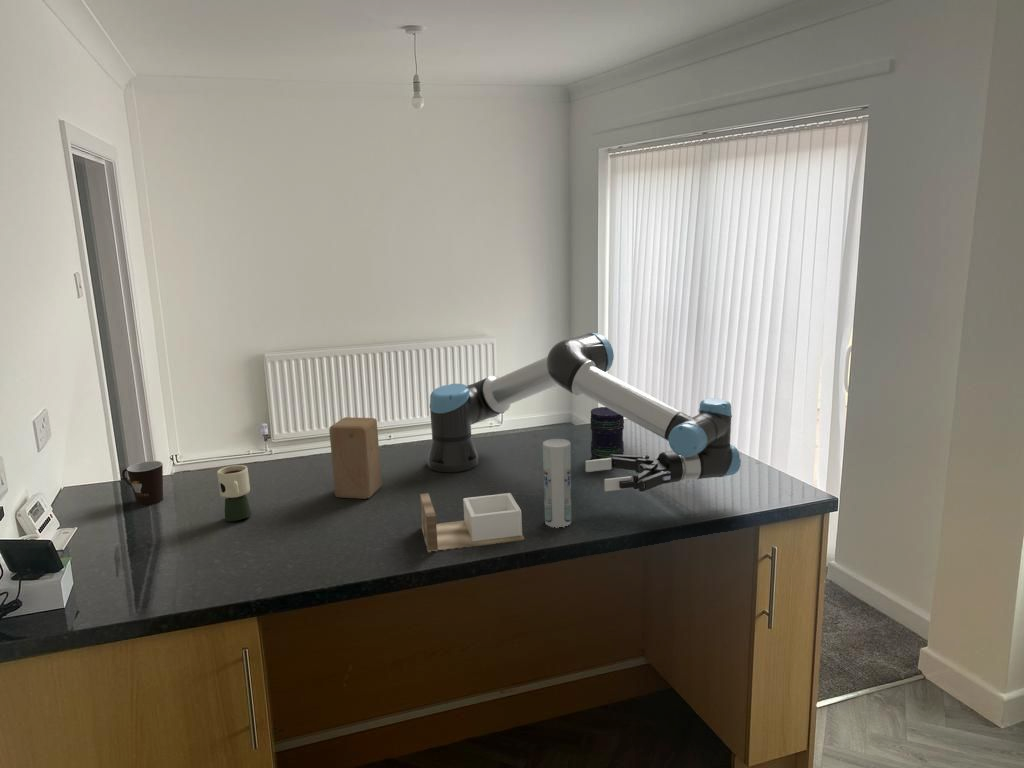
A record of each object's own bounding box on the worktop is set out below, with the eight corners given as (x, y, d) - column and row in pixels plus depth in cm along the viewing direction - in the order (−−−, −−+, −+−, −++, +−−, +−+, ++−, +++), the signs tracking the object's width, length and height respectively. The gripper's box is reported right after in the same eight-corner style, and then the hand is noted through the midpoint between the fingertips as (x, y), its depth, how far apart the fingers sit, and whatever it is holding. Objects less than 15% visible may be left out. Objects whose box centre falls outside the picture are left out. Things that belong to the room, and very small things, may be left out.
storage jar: (626, 464, 214) (626, 415, 211) (592, 465, 214) (592, 416, 211) (621, 453, 224) (621, 406, 221) (589, 454, 224) (588, 407, 221)
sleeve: (464, 521, 176) (463, 498, 175) (511, 516, 179) (510, 492, 177) (472, 541, 165) (471, 516, 164) (522, 535, 168) (521, 510, 166)
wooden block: (369, 500, 193) (363, 427, 189) (334, 498, 195) (327, 426, 191) (383, 486, 203) (377, 417, 198) (349, 485, 205) (343, 416, 200)
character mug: (221, 513, 188) (215, 465, 185) (250, 508, 191) (244, 460, 188) (225, 529, 178) (218, 478, 175) (256, 523, 181) (249, 473, 178)
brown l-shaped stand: (421, 527, 175) (419, 494, 174) (511, 516, 180) (509, 484, 178) (427, 552, 162) (425, 516, 160) (524, 539, 167) (523, 505, 165)
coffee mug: (173, 500, 198) (167, 465, 196) (139, 510, 192) (134, 474, 190) (155, 490, 206) (150, 456, 204) (123, 499, 200) (117, 464, 197)
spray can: (544, 517, 179) (542, 438, 174) (571, 516, 179) (569, 438, 174) (544, 528, 172) (542, 447, 168) (572, 528, 172) (571, 446, 168)
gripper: (701, 498, 168) (613, 509, 164) (656, 464, 192) (579, 473, 188) (701, 467, 167) (613, 478, 162) (656, 437, 190) (578, 445, 186)
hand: (594, 475), depth 175 cm, fingers open, 13 cm apart
